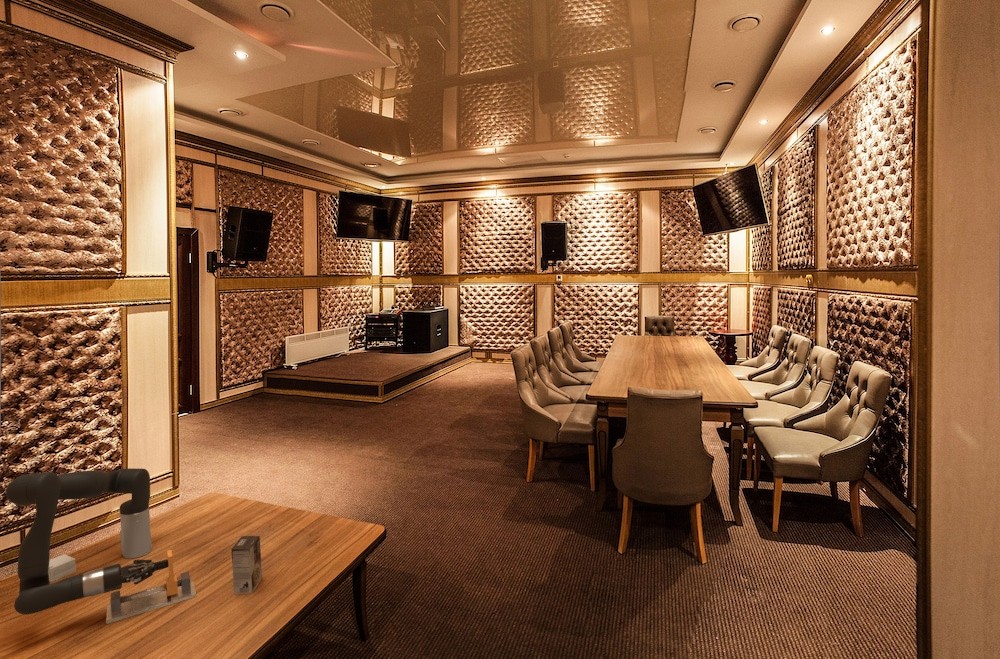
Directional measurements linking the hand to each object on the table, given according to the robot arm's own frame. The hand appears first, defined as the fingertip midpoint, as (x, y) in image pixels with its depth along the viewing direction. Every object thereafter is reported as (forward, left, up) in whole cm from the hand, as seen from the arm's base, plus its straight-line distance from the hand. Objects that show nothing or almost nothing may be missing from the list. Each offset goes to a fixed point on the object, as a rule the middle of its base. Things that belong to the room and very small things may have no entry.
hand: (168, 563), depth 173 cm
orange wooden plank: (0, +1, -10) cm, 10 cm away
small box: (-51, -4, -12) cm, 52 cm away
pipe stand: (-3, -4, -12) cm, 13 cm away
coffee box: (+19, +14, -12) cm, 27 cm away
